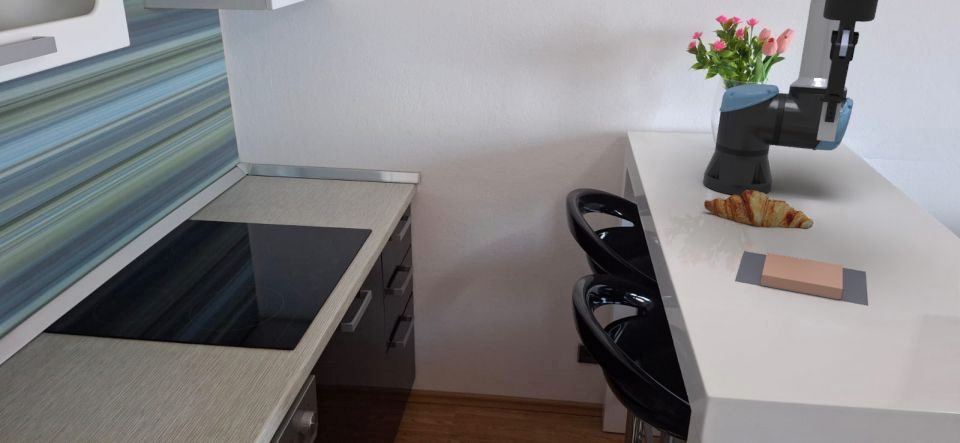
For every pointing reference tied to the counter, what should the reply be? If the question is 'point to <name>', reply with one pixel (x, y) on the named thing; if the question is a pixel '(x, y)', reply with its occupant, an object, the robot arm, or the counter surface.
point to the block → (803, 276)
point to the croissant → (758, 211)
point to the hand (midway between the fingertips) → (825, 139)
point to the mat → (851, 292)
